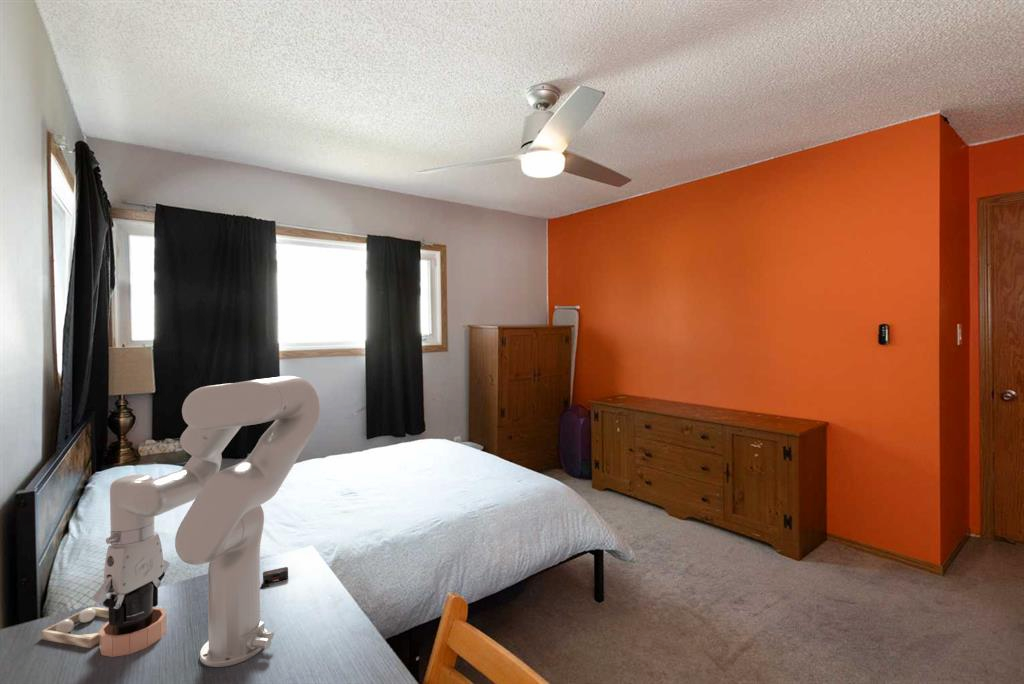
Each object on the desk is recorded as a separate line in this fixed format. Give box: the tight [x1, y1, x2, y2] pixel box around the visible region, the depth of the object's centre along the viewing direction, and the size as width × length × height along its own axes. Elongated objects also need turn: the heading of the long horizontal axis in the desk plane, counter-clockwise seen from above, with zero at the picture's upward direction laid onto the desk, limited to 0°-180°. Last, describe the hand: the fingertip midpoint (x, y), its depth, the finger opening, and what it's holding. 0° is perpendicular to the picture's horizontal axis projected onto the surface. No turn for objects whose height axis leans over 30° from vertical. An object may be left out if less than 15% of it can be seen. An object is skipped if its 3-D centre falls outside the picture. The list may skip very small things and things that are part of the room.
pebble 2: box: [78, 607, 96, 624], centre depth 111 cm, size 3×3×3 cm
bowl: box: [98, 606, 167, 658], centre depth 105 cm, size 11×11×4 cm
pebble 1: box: [55, 618, 75, 634], centre depth 107 cm, size 3×3×3 cm
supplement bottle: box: [113, 582, 154, 636], centre depth 105 cm, size 7×7×12 cm
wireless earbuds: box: [260, 566, 289, 590], centre depth 128 cm, size 4×7×3 cm, turn 118°
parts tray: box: [40, 605, 109, 649], centre depth 108 cm, size 14×10×2 cm
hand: (134, 614), depth 105 cm, fingers closed on supplement bottle, 6 cm apart
